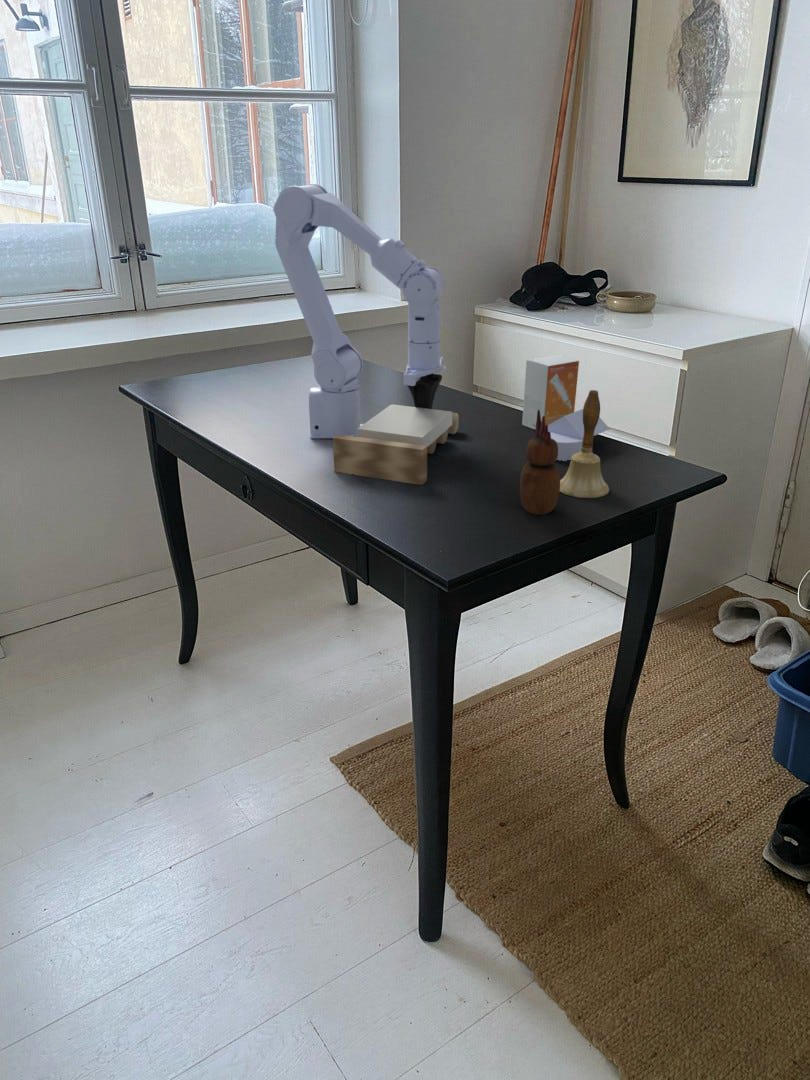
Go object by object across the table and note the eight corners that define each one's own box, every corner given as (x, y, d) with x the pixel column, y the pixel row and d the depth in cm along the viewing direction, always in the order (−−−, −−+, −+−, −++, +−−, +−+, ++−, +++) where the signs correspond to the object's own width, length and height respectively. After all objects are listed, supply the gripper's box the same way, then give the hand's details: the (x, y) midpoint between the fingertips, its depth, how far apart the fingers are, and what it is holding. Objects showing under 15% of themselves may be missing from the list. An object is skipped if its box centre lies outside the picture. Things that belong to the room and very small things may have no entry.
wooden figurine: (516, 501, 126) (522, 406, 120) (554, 501, 126) (561, 407, 119) (520, 519, 120) (526, 420, 113) (560, 519, 120) (568, 420, 113)
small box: (543, 433, 156) (548, 365, 150) (521, 425, 161) (525, 359, 155) (574, 426, 160) (580, 360, 154) (551, 418, 165) (556, 353, 159)
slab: (358, 442, 140) (357, 428, 139) (391, 417, 152) (391, 404, 151) (422, 451, 136) (422, 437, 135) (452, 424, 147) (452, 411, 146)
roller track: (366, 466, 140) (366, 444, 138) (420, 425, 161) (420, 406, 159) (409, 472, 137) (409, 450, 136) (458, 430, 158) (459, 410, 156)
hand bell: (583, 476, 136) (592, 381, 129) (620, 491, 129) (632, 393, 123) (545, 486, 132) (552, 389, 125) (581, 502, 125) (591, 401, 119)
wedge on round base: (566, 436, 155) (525, 452, 146) (569, 401, 152) (527, 416, 143) (608, 446, 149) (567, 464, 141) (611, 410, 146) (571, 427, 138)
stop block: (334, 471, 138) (332, 437, 135) (339, 467, 140) (338, 434, 137) (422, 485, 132) (422, 449, 130) (426, 480, 134) (427, 446, 131)
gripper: (430, 350, 137) (429, 428, 143) (459, 334, 149) (457, 406, 155) (391, 347, 139) (392, 424, 145) (423, 331, 151) (422, 403, 157)
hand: (423, 415), depth 150 cm, fingers closed
